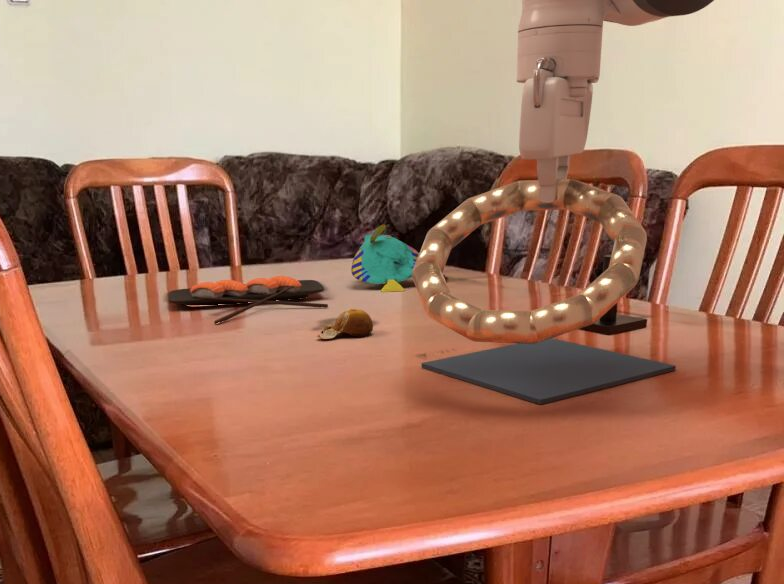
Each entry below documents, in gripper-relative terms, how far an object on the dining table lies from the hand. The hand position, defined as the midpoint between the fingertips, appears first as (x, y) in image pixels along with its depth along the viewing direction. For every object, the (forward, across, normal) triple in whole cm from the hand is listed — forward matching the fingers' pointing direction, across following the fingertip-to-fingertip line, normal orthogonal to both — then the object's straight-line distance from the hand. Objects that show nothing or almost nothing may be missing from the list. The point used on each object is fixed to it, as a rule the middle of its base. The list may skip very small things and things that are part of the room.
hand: (552, 200), depth 94 cm
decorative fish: (+20, +60, +44) cm, 77 cm away
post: (+20, +26, -4) cm, 33 cm away
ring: (+5, -9, +1) cm, 10 cm away
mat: (+20, 0, 0) cm, 20 cm away
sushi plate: (+20, +33, +61) cm, 72 cm away
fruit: (+20, +14, +34) cm, 42 cm away
